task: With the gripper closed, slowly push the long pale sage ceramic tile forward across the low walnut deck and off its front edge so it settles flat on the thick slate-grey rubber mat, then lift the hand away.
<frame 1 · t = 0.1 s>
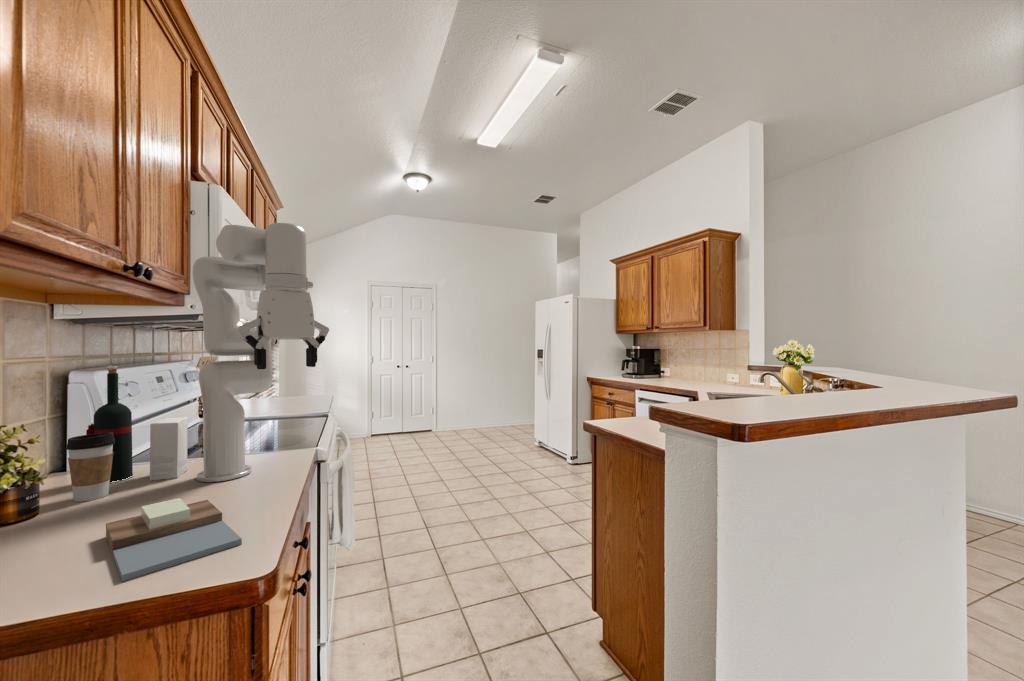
hand: (287, 367, 88), 31 cm above the counter, tool pointing down, fingers open, 9 cm apart
walnut deck: (165, 530, 83), on the counter
slate mat: (179, 549, 75), on the counter
wine bottle: (107, 480, 115), on the counter
skincare box: (170, 476, 118), on the counter
coffee cup: (91, 498, 102), on the counter
sage tile: (165, 518, 83), point 2 cm above the counter, touching walnut deck
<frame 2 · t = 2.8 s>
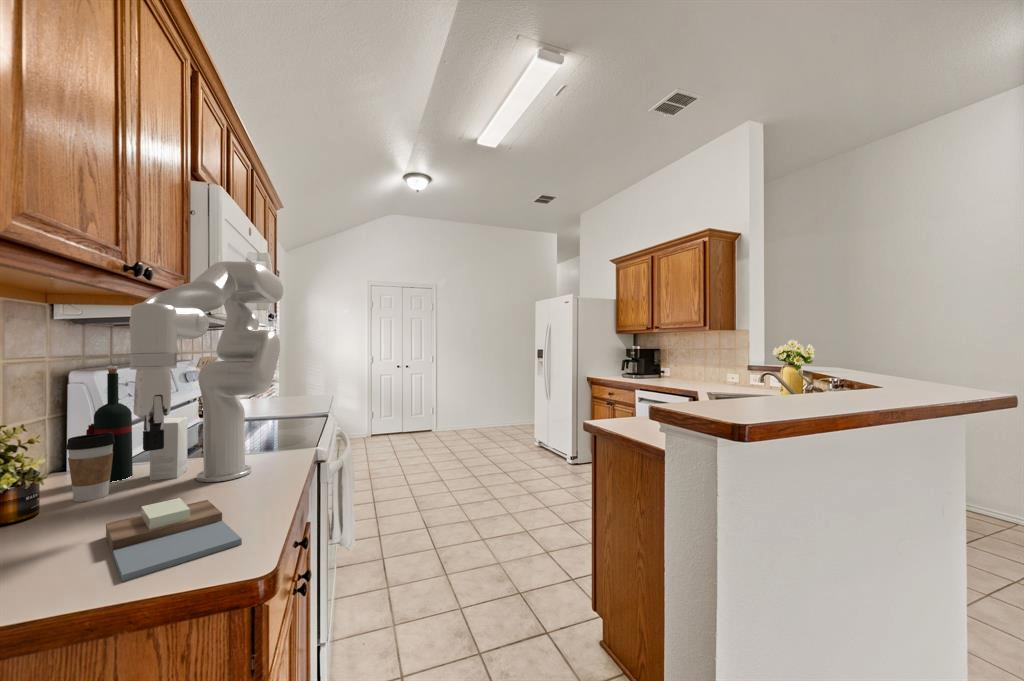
hand: (153, 449, 89), 14 cm above the counter, tool pointing down, fingers closed
nothing on the counter moved.
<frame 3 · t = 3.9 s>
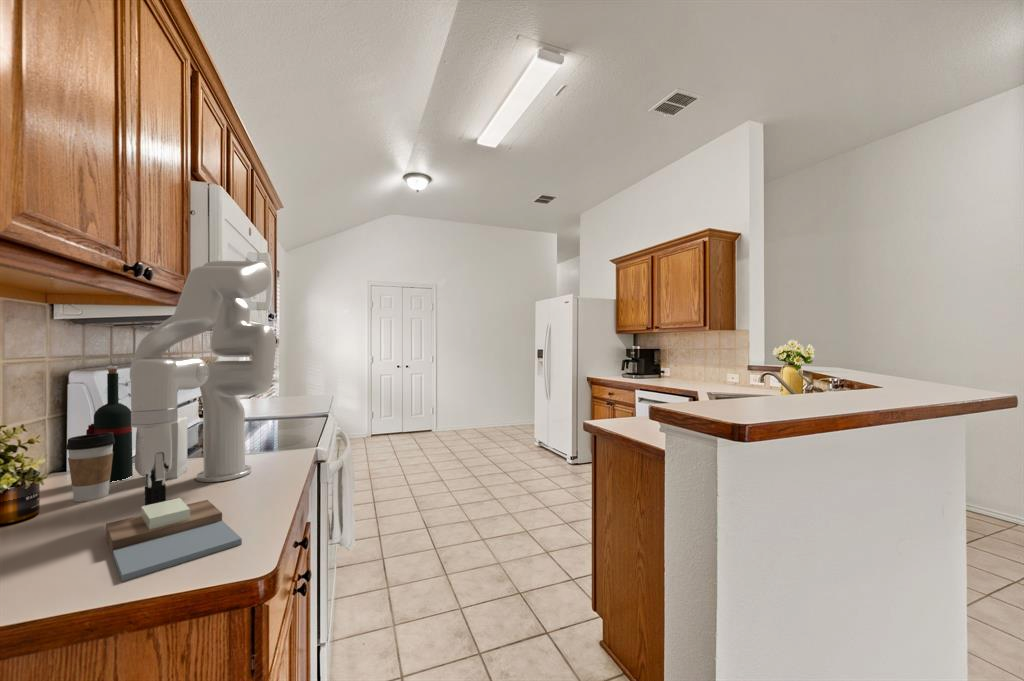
hand: (155, 504, 90), 3 cm above the counter, tool pointing down, fingers closed
nothing on the counter moved.
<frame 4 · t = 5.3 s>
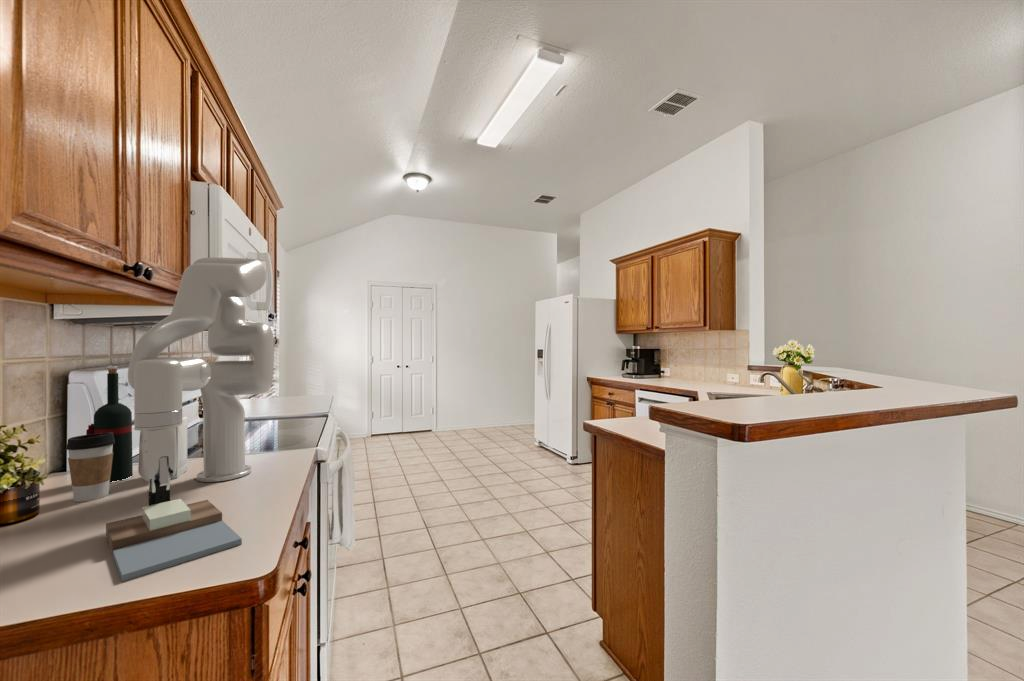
hand: (159, 510, 87), 3 cm above the counter, tool pointing down, fingers closed
sage tile: (166, 518, 82), point 3 cm above the counter, touching gripper, walnut deck
everything else where it was.
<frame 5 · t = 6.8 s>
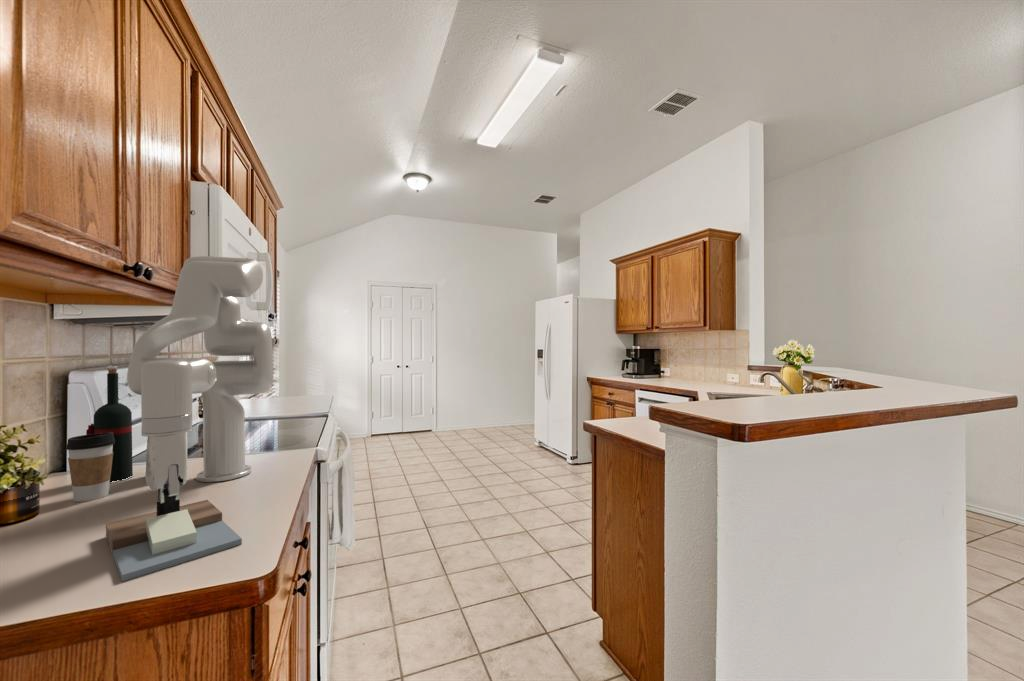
hand: (168, 521, 81), 3 cm above the counter, tool pointing down, fingers closed
sage tile: (170, 535, 76), point 2 cm above the counter, tilted 11°, touching gripper
everything else where it was.
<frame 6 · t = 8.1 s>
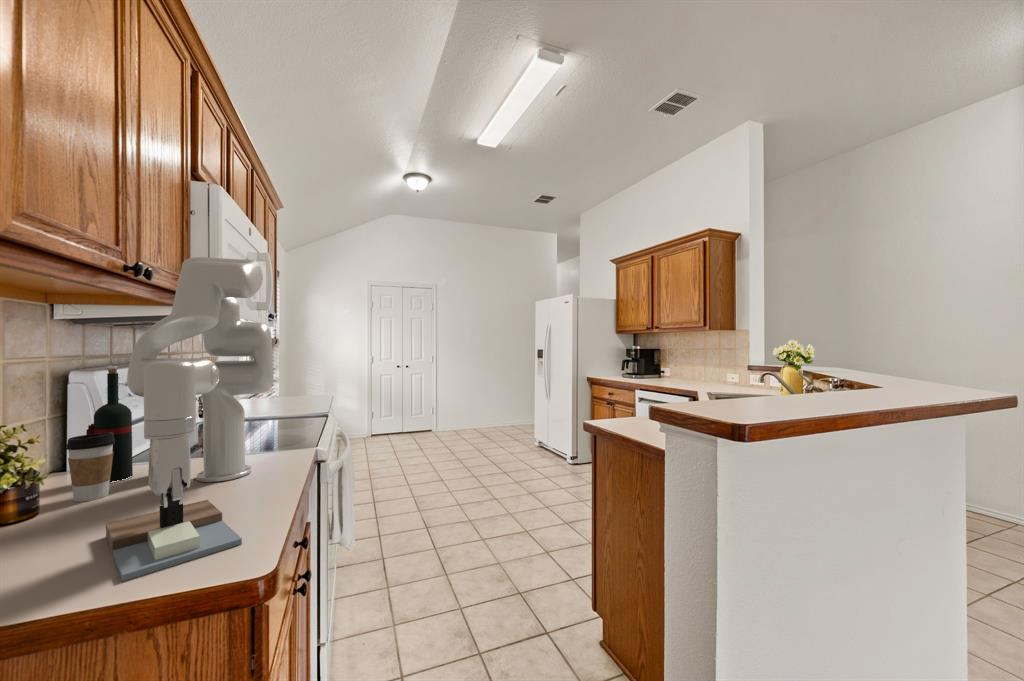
hand: (171, 526, 79), 3 cm above the counter, tool pointing down, fingers closed
sage tile: (173, 545, 75), point 1 cm above the counter, touching gripper, slate mat
everything else where it was.
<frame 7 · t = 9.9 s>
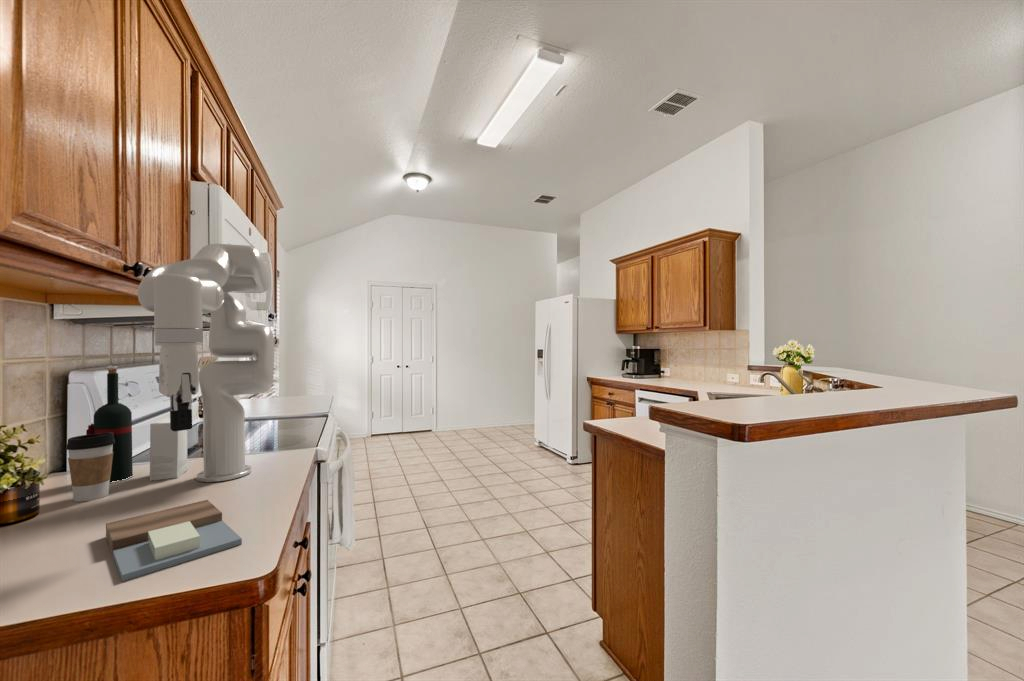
hand: (181, 429, 85), 19 cm above the counter, tool pointing down, fingers closed
sage tile: (173, 545, 75), point 1 cm above the counter, touching slate mat
everything else where it was.
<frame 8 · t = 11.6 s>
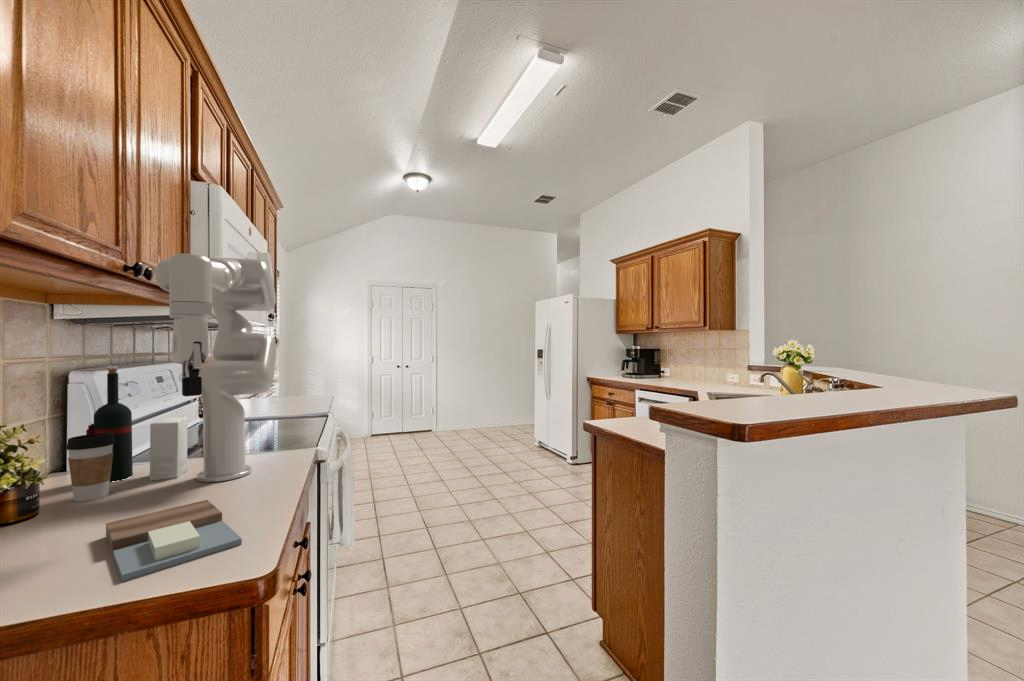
hand: (191, 395, 93), 25 cm above the counter, tool pointing down, fingers closed
nothing on the counter moved.
at the end: sage tile inside the target area on the slate mat (0.8 cm from its centre), point 1.0 cm above the slate mat's base; sage tile tilted 0° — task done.
